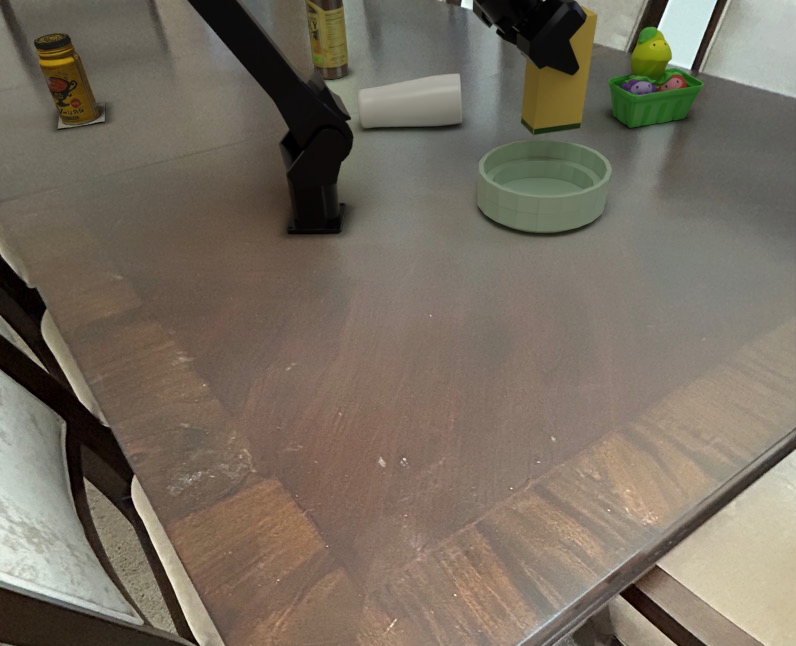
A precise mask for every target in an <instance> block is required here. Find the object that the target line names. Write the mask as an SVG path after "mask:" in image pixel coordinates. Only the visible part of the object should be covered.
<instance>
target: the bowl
mask: <svg viewBox="0 0 796 646" xmlns="http://www.w3.org/2000/svg"><path fill="white" fill-rule="evenodd" d="M477 167H478V168H477V190H476V198H477V200H476V201H477V206H478V208H479V209H480V210H481V211H482V213H483V214H484V215H485V216H486V217H487V218H489V219H491V220H493V222H496V223H498V224H500V225H502V226H504V227H507V228H509V229H513V230H515V231H519V232H525V233H533V234H554V233H555V234H556V233H562V232H567V231H570V230H575V229H578V228H581V227H583V226H586V225H588V224H591V223H592V222H594V221H595V220H596V219H597V218H599V217H600V216H601V215H602V214H603V213H604V210H605V207H606V205H607V202H608V201H607V200H608V196H609V190H610V184H611V180H612V175H613V168H612V165H611V162H610V161H609V159H608V158H606V157H605V155H603V154H602V153H601V152H600V151H598V150H595V149H593V148H591V147H589V146H587V145H584V144H580V143H575V142H573V141H568V140H560V139H559V140H558V139H551V138H550V139H549V138H540V139H539V138H536V139H535V138H533V139H532V138H531V139H524V140H517V141H511V142H507V143H505V144H501V145H499V146H496V147H494V148H492V149H491V150H489V151H488V152H486V153H485V154H483V156H482V157H481V159H480V160H479V162H478V166H477Z"/></svg>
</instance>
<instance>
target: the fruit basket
mask: <svg viewBox="0 0 796 646" xmlns="http://www.w3.org/2000/svg"><path fill="white" fill-rule="evenodd" d="M672 60H673V53H672V49H671V46H670V44H669V43H668V42H667V40H666V39H665V36H664V34H663V32H662V31H661V30H659V29H658V28H657V27H655V26H648V27H645V28H642V30H641V31H640V32H639V34H638V38H637V41H636V46H635V47H634V49H633V51H632V54H631V57H630V70H631V72H632V74H626V75H622V76H621V75H620V76H616V77H612V78H609V79H608V87H609V89H610V98H611V99H610V100H611V108H612V116H613V117H614V118H616V119H617V120H618V121H619V122H621V123H622V124H623V125H625V126H627V127H628V128H629V129H633V128H639V127H641V126H642V127H643V126H650V125H655V124H662V123H668V122H671V121H679V120H680V121H681V120H684V119H685V118H686V117H687V115H688V113H689V111H690V109H691V107H692V105H693V103H694V102H695V99H696V98H697V96H698V94H699V93H700V92H701V90H702V89H703V88H704V85H705V83H704V82H703V81H702V80H700V79H698V78H696V77H695V76H692V75H691V74H689V73H687V72H686V71H684V70H681V69H679V68H673V67H670V68H667V66H668V65H669V62H670V61H672Z"/></svg>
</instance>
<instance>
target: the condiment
mask: <svg viewBox="0 0 796 646" xmlns="http://www.w3.org/2000/svg"><path fill="white" fill-rule="evenodd" d="M33 45H34V47H35V49H36V54H37V56H38V57H39V58H38V59H39V60H38V65H39V68H40V70H41V73H42V74H43V77H44V80H45V82H46V85H47V88H48V89H49V94H50V95H51V98H52V100H53V103H54V106H55V108H56V110H57V113H58V124H57V129H64V128H65V129H66V128H76V127H81V126H86V125H91V124H96V123H101V122H106V102H101V103H98V104H97V101H96V98H95V95H94V92H93V90H92V87H91V84H90V82H89V79H88V76H87V73H86V70H85V67H84V64H83V61H82V59H81V56H80V55H79V53H77V51H76V50H75V47H74V44H73V43H72V38H71V37H70V35H69V34H68V33H63V32H54V33H47V34H44V35H41V36H37V37H36V38H35V39H34V40H33Z"/></svg>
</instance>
